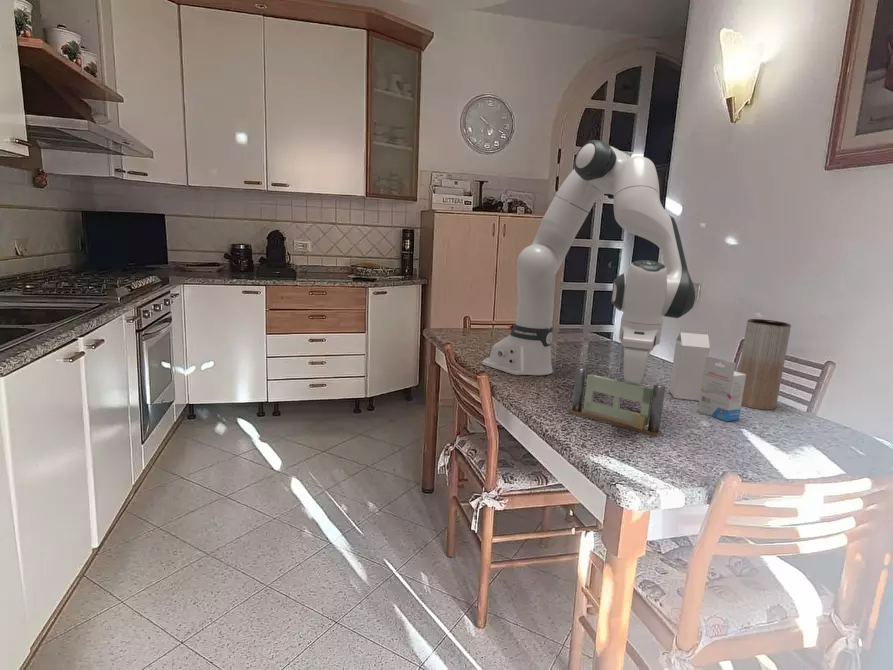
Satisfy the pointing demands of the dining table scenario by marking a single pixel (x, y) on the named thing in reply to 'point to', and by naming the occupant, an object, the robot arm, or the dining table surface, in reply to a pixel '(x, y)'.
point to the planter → (763, 362)
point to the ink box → (721, 390)
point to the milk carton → (689, 364)
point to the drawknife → (636, 425)
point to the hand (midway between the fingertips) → (632, 392)
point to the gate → (617, 397)
